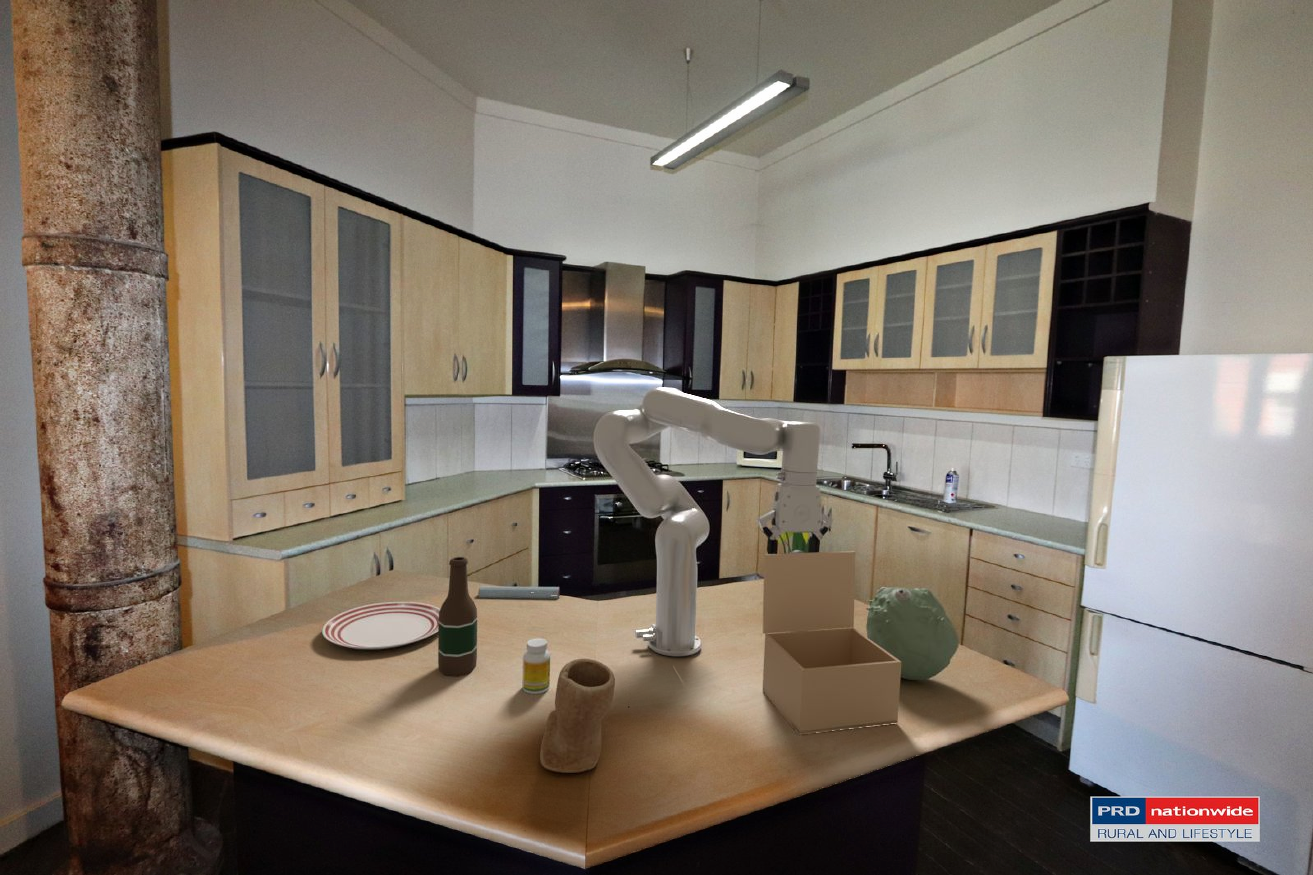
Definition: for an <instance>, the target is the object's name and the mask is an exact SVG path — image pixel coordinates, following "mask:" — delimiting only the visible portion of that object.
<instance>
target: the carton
mask: <svg viewBox="0 0 1313 875" xmlns="http://www.w3.org/2000/svg"><path fill="white" fill-rule="evenodd" d="M763 650H764V651H763V670H762V671H763V672H762V674H763V675H762V690H763V691H764V692H765V693H764V692H763V691H762V692H763V693H764V695H765V694H766V695H767V696H768V697H769V698H768V697H767V696H766V695H765V696H766V697H767V698H768V700H769V699H770V700H771V701H772V702H771V701H770V700H769V701H770V702H771V703H772V704H773V706H774V705H775V706H774V707H775V708H776V709H777V710H778V712H779V714H781V716H783V717H784V719H785V720H786V721H787V723H788V724H789V723H790V724H789V725H790V726H791V727H792V729H793V728H794V729H795V730H794V729H793V730H794V731H795V733H796V734H797V733H798V734H799V735H800V736H803V735H802V734H808V735H811V734H810V733H816V732H826V731H832V730H840V729H849V728H859V727H866V726H873V725H883V724H891V723H897V724H898V721H899V720H898V719H899V704H900V691H901V678H902V677H901V663H902V662H901V661H900V660H898V659H897V658H895V657H894V656H893V655H891V654H890V653H888V652H887V651H885V650H884V649H883V648H881V647H880V646H878V645H877V644H876V643H874V642H873V641H871V640H870V639H869V638H867V635H864V634H863V633H862V632H860V631H859V630H857V629H856V628H855V627H852V628H838V629H823V630H809V631H794V632H780V633H765V634H764V649H763ZM826 733H827V732H826ZM798 734H797V735H798ZM799 735H798V736H799Z"/></svg>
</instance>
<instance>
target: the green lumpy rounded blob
mask: <svg viewBox="0 0 1313 875" xmlns="http://www.w3.org/2000/svg"><path fill="white" fill-rule="evenodd" d="M867 602H868V603H870V605H869V607H866V608H865V609H866V610H867V611H868V613H867V617H866V623H865V624H866V625H865V627H866V629H865V630H866V637H867V638H869V639H870V640H871V641H873V642H874V643H876V644H877V645H878V646H880V647H881V648H883V649H884V650H885V651H887V652H888V653H890V654H891V655H893V656H894V657H895V658H897V659H898V660H900V661H901V662H902V663H901V678H903V679H904V680H908V681H920V680H929V679H931V678H934V677H936V676H937V675H938V674H940V673H941V672H943V671H944V669H946V668H948V666H949V665H950V663H951V660H952V659H953V657H954V655H955V654H956V653H957V651H958V648H959V643H960V640H959V637H958V633H957V630H956V629H955V628H954V625H953V623H952V621H951V619H950V618H949V616H948V614H947V613H946V610H945V608H944V606H943V605H942V603H941V602H940V600H939V599H938V598H937V597H936V595H934V593H933V592H932V591H931V590H930V589H929V588H918V587H915V588H909V587H906V586H904V587H900V586H893V587H891V586H890V587H887V586H883V587H878V589H877V591H876V596H874V598H873V599H869V600H867Z"/></svg>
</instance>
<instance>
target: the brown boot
mask: <svg viewBox="0 0 1313 875" xmlns="http://www.w3.org/2000/svg"><path fill="white" fill-rule="evenodd" d="M615 683H616V678H615V675H614V672H613V671H612V670H611V669H610V667H608V666H607V665H606V664H604V663H603V662H600V661H597V660H595V659H590V658H577V659H574V660H571V661H569V662H567V663H565V664H564V666H563V667H562V669H561V670H560V672H559V674H558V678H557V682H556V691H555V699H554V706H555V707H554V708H555V709H554V710H552V711H550V713H549V714H548V717H547V721H546V723H545V728H544V732H543V737H542V741H541V744H540V745H541V746H540V752H539V759H540V763H541V765H542V767H543V768H545V769H546V770H549V771H552V772H555V773H556V772H557V773H563V774H574V773H581V772H585V771H590V770H592V769H594V768H595V767H596V765H597V763H598V762H599V760H600V756H601V752H602V744H603V743H602V740H603V739H602V725H603V722H604V720H605V718H606V716H607V714H608V712H609V709H610V708H611V706H612V702H613V699H614V692H615V686H616V685H615Z"/></svg>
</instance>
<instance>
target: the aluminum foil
mask: <svg viewBox="0 0 1313 875" xmlns="http://www.w3.org/2000/svg"><path fill="white" fill-rule="evenodd" d="M531 592H534V593H531ZM551 595H557V596H551ZM559 596H561V590H560V586H491V585H490V586H488V585H487V586H486V585H485V586H484V585H482V586H479V589H478V598H480V599H481V598H482V599H483V598H484V599H488V598H489V599H540V600H541V599H544V600H545V599H549V600H550V599H551V600H559V599H560V597H559Z"/></svg>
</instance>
